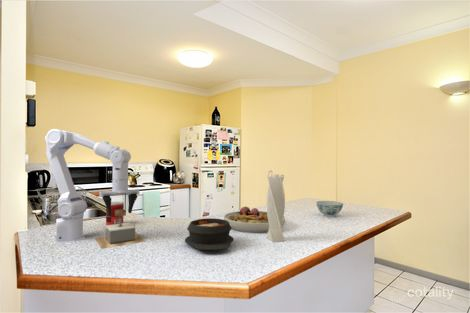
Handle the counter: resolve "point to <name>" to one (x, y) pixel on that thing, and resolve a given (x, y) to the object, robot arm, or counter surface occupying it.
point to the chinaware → (329, 208)
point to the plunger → (120, 215)
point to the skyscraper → (275, 207)
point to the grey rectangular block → (120, 233)
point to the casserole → (209, 234)
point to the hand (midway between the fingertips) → (119, 213)
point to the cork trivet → (104, 243)
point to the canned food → (112, 218)
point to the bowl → (249, 220)
